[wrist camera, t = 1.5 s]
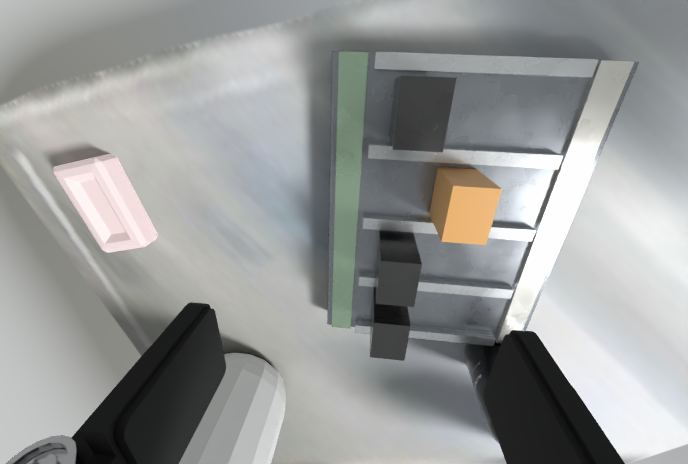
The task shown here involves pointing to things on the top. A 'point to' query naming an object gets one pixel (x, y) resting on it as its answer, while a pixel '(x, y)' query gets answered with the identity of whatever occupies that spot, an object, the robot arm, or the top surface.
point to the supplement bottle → (482, 374)
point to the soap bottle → (240, 415)
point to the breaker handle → (463, 205)
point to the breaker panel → (456, 152)
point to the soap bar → (106, 202)
